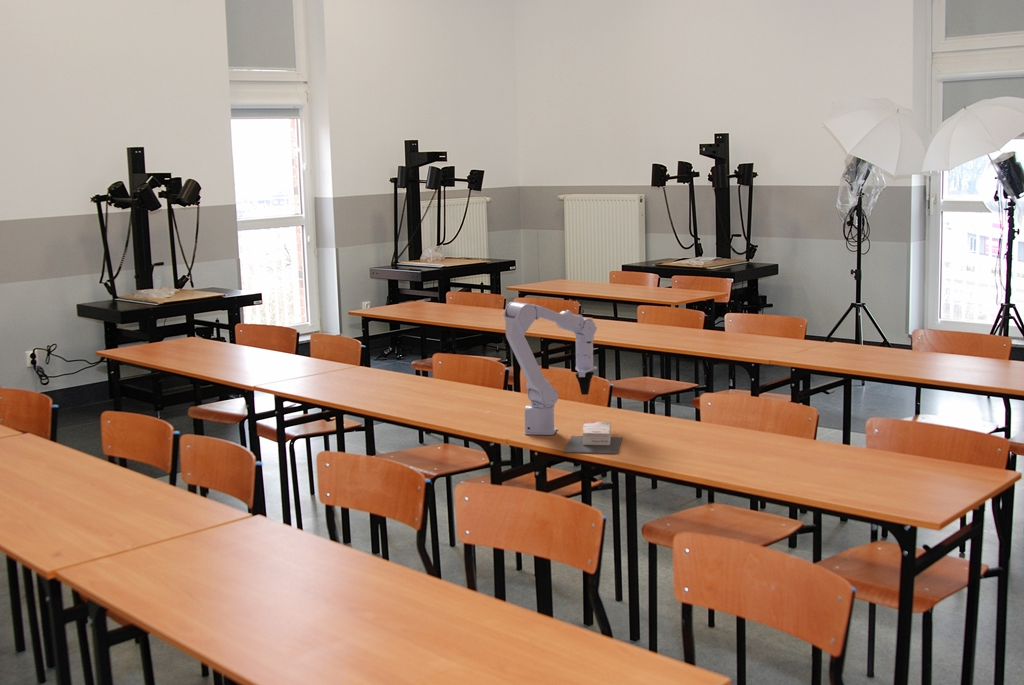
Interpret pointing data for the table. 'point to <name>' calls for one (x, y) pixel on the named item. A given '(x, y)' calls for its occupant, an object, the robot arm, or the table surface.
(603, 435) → the ink cartridge box
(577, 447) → the mat
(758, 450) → the table surface
